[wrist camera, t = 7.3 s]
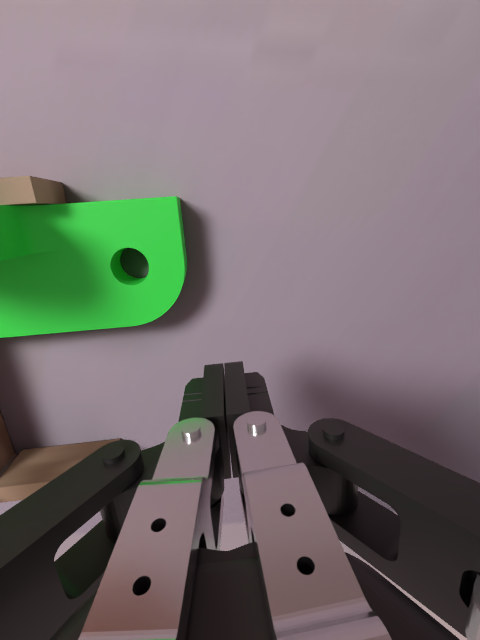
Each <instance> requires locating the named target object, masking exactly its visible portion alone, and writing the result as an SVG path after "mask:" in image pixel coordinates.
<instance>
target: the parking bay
mask: <svg viewBox="0 0 480 640" xmlns="http://www.w3.org/2000/svg"><path fill="white" fill-rule="evenodd" d="M51 204H67V201H66V197H65V193H64V188H63V184H62V183H61V182H56V181H52V180H47V179H42V178H37V177H32V176H21V177H6V178H0V205H16V206H22V205H51ZM118 440H121V439H112V440H103V441H95V442H86V443H77V444H68V445H59V446H51V447H42V448H33V449H24V450H22V451H21V452H20V454H19V455H18V456H17V454H16V453H15V451H14V449H13V446H12V443H11V440H10V438H9V435H8V432H7V429H6V426H5V424H4V421H3V418H2V415H1V412H0V502H8V501H17V500H24V499H25V498H27V497H28V496H30V495H31V494H33V493H34V492H36V491H37V490H39V489H40V488H41V487H43V486H44V485H46V484H47V483H49V482H50V481H52V480H53V479H55V478H56V477H58V476H59V475H61V474H62V473H64V472H65V471H67V470H68V469H70V468H71V467H72V466H74V465H75V464H77V463H78V462H80V461H81V460H83V459H84V458H86V457H87V456H89V455H90V454H92V453H93V452H95V451H96V450H98V449H99V448H101V447H102V446H104V445H106V444H108V443H111V442H114V441H118Z"/></svg>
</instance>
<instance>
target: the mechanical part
mask: <svg viewBox="0 0 480 640" xmlns="http://www.w3.org/2000/svg"><path fill="white" fill-rule="evenodd" d="M125 248H134V249H136V250H138V251H140V252H141V253H142V254H143V255H144V256H145V257H146V259H147V261H148V264H149V272H148V275H147V276H146V277H144V278H135V277H132V276H130V275H128V274H127V273H126V272H125V271H124V270H123V268H122V266H121V262H120V257H121V254H122V252H123V250H124V249H125ZM186 272H187V255H186V246H185V237H184V229H183V220H182V211H181V203H180V198H179V197H160V198H145V199H129V200H114V201H98V202H82V203H67V204H51V205H22V206H16V205H0V338H5V337H16V336H27V335H39V334H50V333H61V332H73V331H84V330H96V329H107V328H118V327H130V326H138V325H142V324H146V323H148V322H151V321H153V320H155V319H157V318H159V317H160V316H162V315H163V314H164V313H165V312H167V311H168V310H169V309H170V308H171V306H172V305H173V304H174V302H175V301H176V299H177V298H178V296H179V294H180V291H181V289H182V286H183V284H184V281H185V277H186Z"/></svg>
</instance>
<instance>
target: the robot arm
mask: <svg viewBox="0 0 480 640" xmlns="http://www.w3.org/2000/svg"><path fill="white" fill-rule="evenodd" d="M224 364H225V376H224V367H223V363H222V364H212V365H205V367H204V378H195V379H192V380H191V381H190V382H189V383H188V384H187V385H186V387H185V392H184V397H183V402H182V407H181V412H180V417H179V422H178V423H177V424H175V425H174V426H173V427H172V428H171V429H170V430H169V432H168V435H167V438H166V441H165V442H163V443H161V444H159V445H157V446H154V447H151V448H148V449H145V450H142V451H141V450H140V446H139V445H138V444H137V443H136V442H134V441H132V440H118V441H114V442H111V443H108V444H106V445H104V446H102V447H101V448H99V449H98V450H96V451H95V452H93V453H92V454H90V455H89V456H87V457H86V458H84V459H83V460H81V461H80V462H78V463H77V464H75V465H74V466H72V467H71V468H70V469H68V470H67V471H65V472H64V473H62V474H61V475H59V476H58V477H56V478H55V479H53V480H52V481H50V482H49V483H47V484H46V485H44V486H43V487H41V488H40V489H39V490H37V491H36V492H34V493H33V494H31V495H30V496H28V497H27V498H25V499H24V500H22V501H21V502H19V503H18V504H16V505H15V506H13V507H12V508H10V509H9V510H8V511H6V512H5V513H3V514H2V515H0V640H459V639H458V638H457V637H456V636H455V635H453V634H452V633H451V632H450V631H449V630H447V629H446V628H445V627H444V626H443V625H441V624H440V623H439V622H438V621H436V620H435V619H434V618H433V617H431V616H430V615H429V614H428V613H427V612H425V611H424V610H423V609H422V608H421V607H419V606H418V605H417V604H416V603H414V602H413V601H412V600H411V599H410V598H408V597H407V596H406V595H405V594H403V593H402V592H401V591H400V590H399V589H397V588H396V587H395V586H394V585H392V584H391V583H390V582H389V581H388V580H386V579H385V578H384V577H383V576H382V575H380V574H379V573H378V572H377V571H375V570H374V569H373V568H371V567H370V566H369V565H367V564H366V563H364V562H363V561H361V560H360V559H358V558H356V557H354V556H352V555H350V554H348V553H345V552H344V550H343V548H342V545H341V543H340V541H341V542H342V543H344V544H345V545H346V546H348V547H349V548H351V549H352V550H353V551H354V552H355V553H357V554H358V555H359V556H361V557H362V558H363V559H365V560H366V561H367V562H368V563H370V564H371V565H372V566H374V567H375V568H376V569H378V570H379V571H380V572H382V573H383V574H384V575H385V576H387V577H388V578H389V579H391V580H392V581H393V582H395V583H396V584H397V585H398V586H400V587H401V588H402V589H403V590H405V591H406V592H407V593H409V594H410V595H411V596H413V597H414V598H415V599H416V600H418V601H419V602H421V603H422V604H423V605H424V606H426V607H427V608H428V609H429V610H431V611H432V612H434V613H435V614H436V615H437V616H439V617H440V618H441V619H443V620H444V621H445V622H447V623H448V624H449V625H450V626H452V627H453V628H454V629H455V630H457V631H458V632H459V633H461V634H462V635H463V636H464V637H466V638H467V640H480V483H478V482H476V481H473V480H471V479H469V478H467V477H465V476H463V475H460V474H458V473H456V472H454V471H452V470H450V469H447V468H445V467H443V466H441V465H439V464H437V463H434V462H432V461H430V460H428V459H426V458H424V457H421V456H419V455H417V454H415V453H413V452H411V451H408V450H406V449H404V448H402V447H400V446H398V445H395V444H393V443H391V442H389V441H387V440H385V439H382V438H380V437H378V436H376V435H374V434H372V433H369V432H367V431H365V430H363V429H361V428H359V427H356V426H354V425H352V424H350V423H348V422H345V421H343V420H339V419H331V418H329V419H321V420H318V421H316V422H314V423H313V424H312V425H311V426H310V427H309V429H308V432H305V431H297V430H292V429H289V428H286V427H284V426H282V425H281V424H280V422H279V420H278V418H277V417H276V416H274V413H273V409H272V406H271V402H270V398H269V394H268V391H267V387H266V383H265V380H264V378H263V377H262V376H261V375H260V374H259V373H257V372H253V373H244V368H243V362H242V361H241V362H231V363H224ZM230 454H231V463H232V472H233V478H235V477H239V486H240V495H241V503H242V509H243V515H244V521H245V526H246V533H247V539H248V544H247V545H244V546H241V547H238V548H236V549H233V550H230V551H220V547H221V545H220V544H221V533H222V531H221V530H222V519H223V505H224V499H223V491H224V479H228V478H231V465H230ZM358 486H359V487H361V488H362V489H364V490H366V491H367V492H369V493H371V494H372V495H374V496H376V497H377V498H379V499H381V500H382V501H384V502H385V503H387V504H388V505H390V506H391V507H392V508H393V509H394V510H395V511H396V513H397V514H398V515H396V514H395V513H393V512H392V511H390V510H388V509H387V508H385V507H383V506H382V505H380V504H379V503H377V502H375V501H374V500H372V499H370V498H369V497H367V496H366V495H364V494H362V493H361V492H359V491H358ZM99 511H100V512H101V516H102V519H103V520H102V521H101V522H99V523H98V524H97V525H96V526H95V527H94V528H93V529H91V530H90V531H89V532H88V533H87V534H86V535H85V536H83V537H82V538H81V539H80V540H79V541H78V542H77V543H76V544H74V545H73V546H72V547H71V548H70V549H69V550H67V552H65V553H64V554H63V555H62V556H61V557H59V558H58V559H57V560H56V561H55V562H54V557H55V554H56V552H57V550H58V548H59V546H60V545H61V544H62V543H63V542H64V541H65V539H67V538H68V537H69V536H70V535H71V534H73V533H74V532H75V531H76V530H77V529H79V528H80V527H81V526H82V525H83V524H85V523H86V522H87V521H88V520H89V519H90V518H92V517H93V516H94V515H95V514H96V513H98V512H99ZM339 540H340V541H339Z"/></svg>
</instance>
